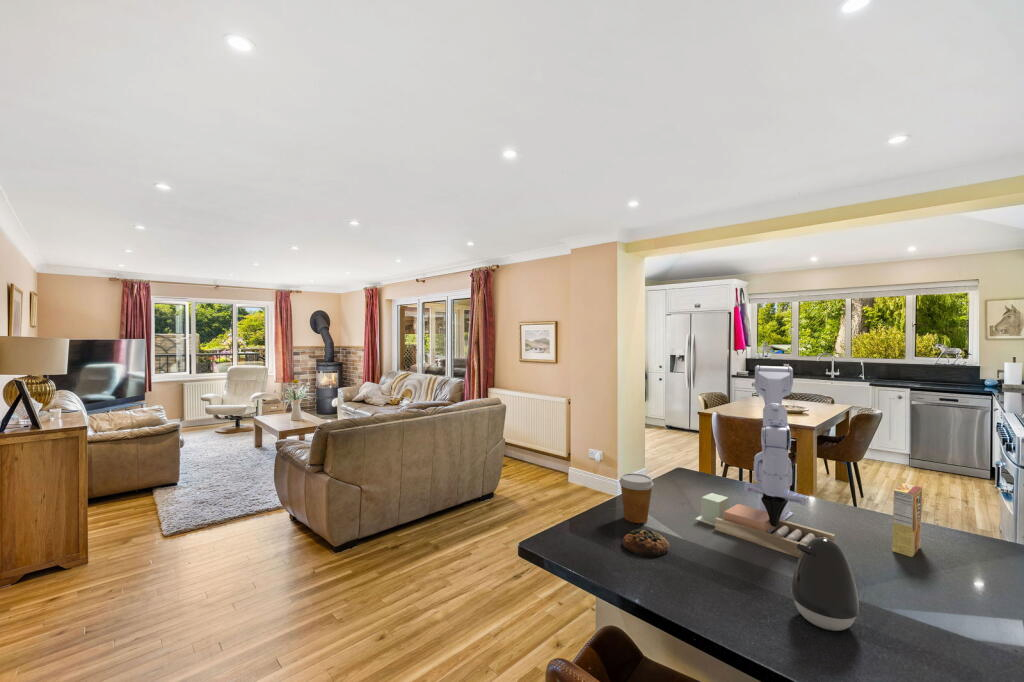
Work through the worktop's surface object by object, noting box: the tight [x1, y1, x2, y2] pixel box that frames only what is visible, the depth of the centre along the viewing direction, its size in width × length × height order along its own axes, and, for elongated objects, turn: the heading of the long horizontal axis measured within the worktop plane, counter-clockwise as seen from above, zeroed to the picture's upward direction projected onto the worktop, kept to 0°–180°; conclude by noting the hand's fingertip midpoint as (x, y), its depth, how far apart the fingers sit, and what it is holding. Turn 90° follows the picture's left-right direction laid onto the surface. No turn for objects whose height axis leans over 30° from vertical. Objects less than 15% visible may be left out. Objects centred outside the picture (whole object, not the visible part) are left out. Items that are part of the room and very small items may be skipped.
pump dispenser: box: [790, 538, 860, 631], centre depth 83 cm, size 10×10×15 cm
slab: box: [724, 503, 773, 532], centre depth 122 cm, size 9×10×2 cm
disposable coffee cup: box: [618, 472, 654, 524], centre depth 129 cm, size 10×10×12 cm
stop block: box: [700, 492, 730, 522], centre depth 130 cm, size 6×5×6 cm
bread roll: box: [622, 529, 670, 558], centre depth 112 cm, size 11×11×5 cm
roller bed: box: [694, 515, 836, 559], centre depth 120 cm, size 13×31×3 cm, turn 41°
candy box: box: [891, 482, 923, 558], centre depth 112 cm, size 9×4×15 cm, turn 129°
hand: (774, 525), depth 117 cm, fingers closed
